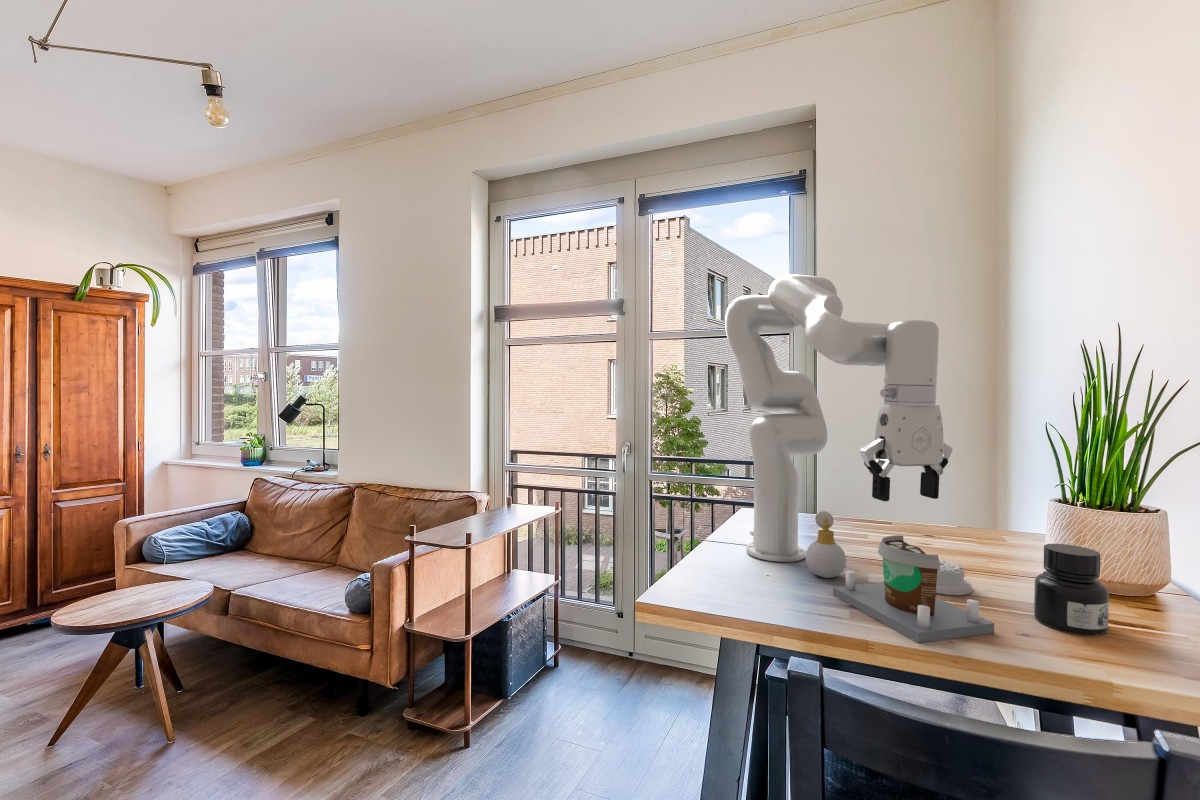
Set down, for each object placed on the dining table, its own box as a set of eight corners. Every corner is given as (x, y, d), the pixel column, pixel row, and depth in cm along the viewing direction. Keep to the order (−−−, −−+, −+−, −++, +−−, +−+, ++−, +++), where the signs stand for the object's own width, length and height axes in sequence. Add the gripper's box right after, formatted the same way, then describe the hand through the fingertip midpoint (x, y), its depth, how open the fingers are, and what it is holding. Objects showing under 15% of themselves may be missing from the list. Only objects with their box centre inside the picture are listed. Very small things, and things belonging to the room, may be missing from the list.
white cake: (921, 595, 100) (982, 598, 98) (921, 570, 99) (982, 574, 98) (901, 576, 109) (956, 579, 107) (902, 554, 109) (956, 557, 107)
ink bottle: (1086, 642, 80) (1088, 561, 80) (1020, 619, 89) (1021, 545, 88) (1121, 630, 84) (1123, 553, 84) (1055, 609, 92) (1056, 539, 92)
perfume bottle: (816, 583, 105) (816, 520, 105) (794, 566, 115) (794, 509, 114) (853, 582, 106) (854, 520, 105) (828, 565, 115) (829, 509, 115)
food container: (865, 589, 97) (865, 533, 97) (900, 590, 97) (901, 534, 97) (898, 618, 85) (899, 555, 85) (939, 620, 85) (940, 555, 84)
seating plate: (833, 595, 99) (833, 570, 98) (898, 588, 102) (898, 564, 102) (918, 643, 80) (918, 612, 80) (994, 632, 83) (994, 603, 83)
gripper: (882, 397, 85) (877, 506, 86) (971, 397, 89) (966, 501, 90) (848, 395, 92) (845, 495, 93) (933, 395, 96) (929, 491, 97)
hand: (905, 498), depth 91 cm, fingers open, 9 cm apart
